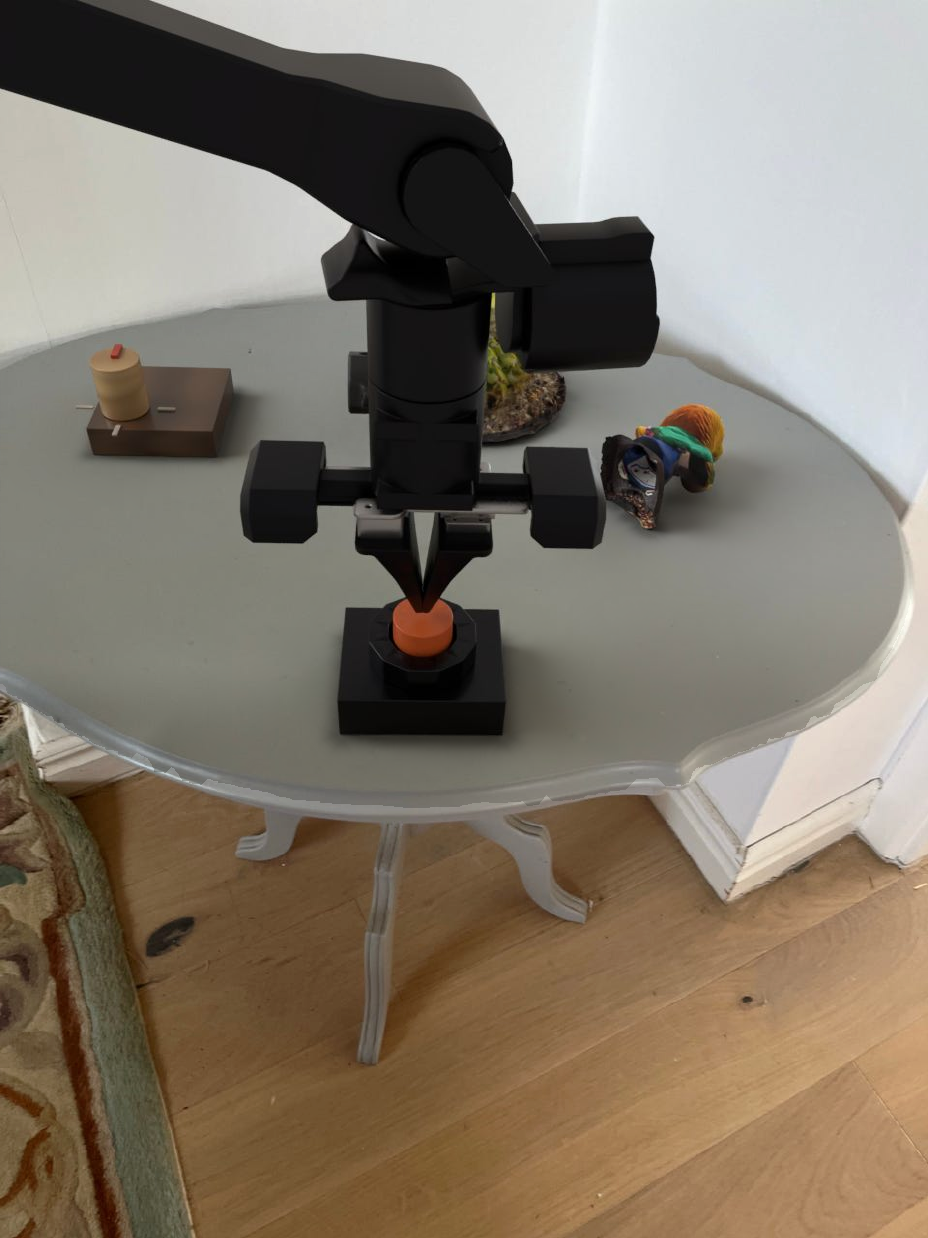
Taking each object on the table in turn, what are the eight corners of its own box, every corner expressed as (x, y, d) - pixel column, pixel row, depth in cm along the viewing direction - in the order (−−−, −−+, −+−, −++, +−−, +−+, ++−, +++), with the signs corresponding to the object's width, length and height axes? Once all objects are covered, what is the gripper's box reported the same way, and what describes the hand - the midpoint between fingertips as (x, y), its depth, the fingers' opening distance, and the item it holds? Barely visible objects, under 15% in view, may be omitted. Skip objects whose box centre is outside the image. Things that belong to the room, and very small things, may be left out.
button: (392, 657, 57) (392, 636, 56) (393, 615, 60) (393, 594, 59) (452, 658, 57) (453, 637, 56) (451, 616, 60) (452, 595, 59)
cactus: (574, 449, 82) (589, 344, 75) (387, 444, 81) (385, 338, 75) (557, 349, 94) (568, 251, 88) (394, 344, 94) (393, 245, 87)
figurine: (687, 446, 83) (701, 382, 79) (749, 493, 78) (768, 427, 74) (581, 485, 78) (591, 419, 74) (640, 536, 74) (654, 469, 70)
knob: (145, 421, 78) (133, 368, 74) (97, 420, 77) (83, 367, 74) (153, 396, 80) (142, 343, 77) (107, 395, 80) (94, 343, 77)
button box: (339, 734, 59) (335, 679, 55) (347, 641, 64) (344, 586, 61) (502, 736, 59) (508, 681, 56) (496, 643, 65) (501, 588, 61)
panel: (70, 461, 78) (62, 433, 76) (103, 389, 85) (97, 362, 84) (214, 464, 78) (209, 436, 76) (234, 393, 86) (230, 366, 84)
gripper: (598, 301, 52) (564, 525, 63) (253, 290, 51) (279, 520, 62) (629, 412, 44) (584, 647, 55) (220, 401, 43) (257, 643, 54)
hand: (422, 607), depth 57 cm, fingers closed
